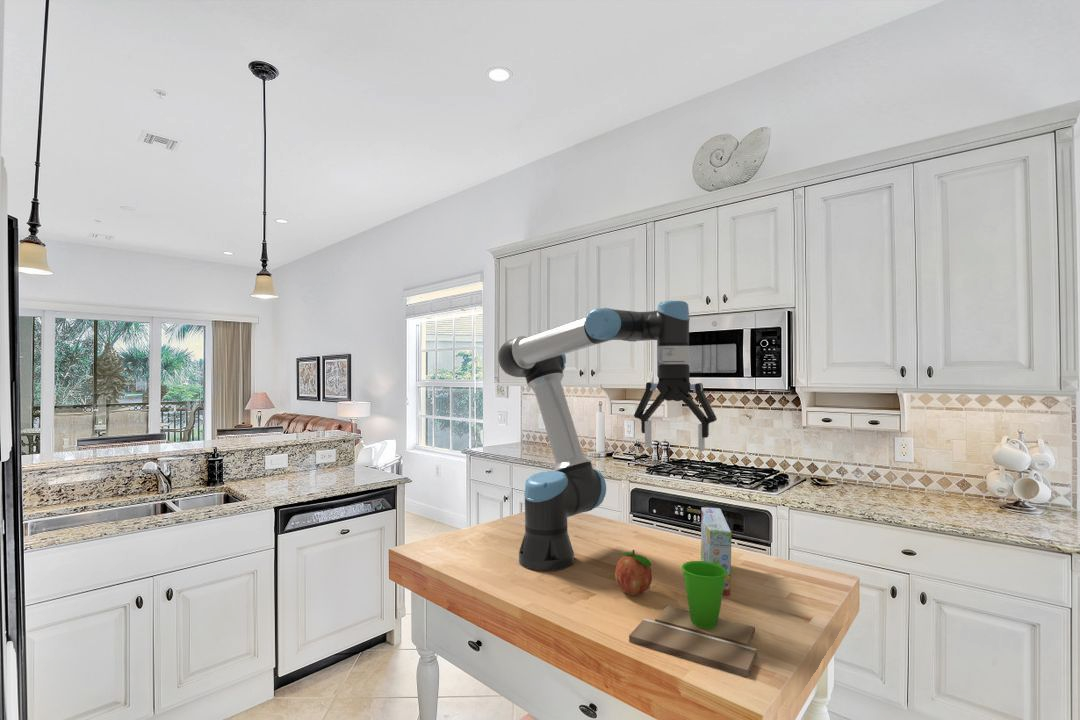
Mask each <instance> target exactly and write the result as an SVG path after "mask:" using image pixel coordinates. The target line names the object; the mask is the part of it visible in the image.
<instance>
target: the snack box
mask: <svg viewBox="0 0 1080 720" xmlns="http://www.w3.org/2000/svg"><path fill="white" fill-rule="evenodd" d="M700 510H701V512H700V516H701V517H700V519H701V520H700V561H705V562H711V563H715V564H718V565H720V566H723V567H724V568H725V569H726V570H727V575H726V576H725V581H724V587H723V593H722V596H731V575H732V570H731V569H732V531H731V529H730V527H729V524H728V523H727V520H726V518H725V516H724V513H723V511H722V509H721V508H719V507H718V508H717V507H701V508H700Z"/></svg>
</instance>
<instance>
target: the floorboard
mask: <svg viewBox="0 0 1080 720" xmlns="http://www.w3.org/2000/svg"><path fill="white" fill-rule="evenodd" d="M628 642H630V643H633V644H635V645H636V644H637V645H639V646H642V647H646V648H648V649H653V650H656V651H659V652H662V653H665V654H666V653H667V654H669V655H673V656H676V657H679V658H682V659H687V660H689V661H692V662H695V663H699V664H702V665H706V666H710V667H712V668H716V669H719V670H722V671H726V672H729V673H733V674H736V675H739V676H743V677H746V678H749V675H750V673H751V670H752V668H753V666H754V663H755V661H756V658H757V656H758V650H757V648H754V647H752V646H744V645H740V644H737V643H733V642H729V641H726V640H722V639H718V638H715V637H711V636H707V635H704V634H700V633H696V632H693V631H689V630H685V629H681V628H678V627H674V626H670V625H667V624H663V623H659V622H656V621H655V620H652V619H647V618H643V619H642V621H641V622H640V623H639V624H638V625H637V626H636V627H635V629H633V631H632V632H631V633H629V635H628Z"/></svg>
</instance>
